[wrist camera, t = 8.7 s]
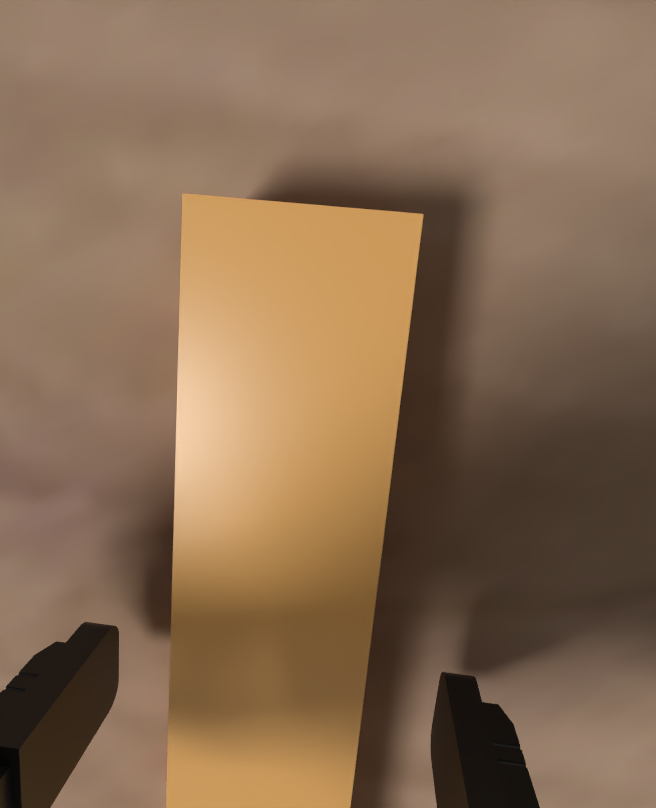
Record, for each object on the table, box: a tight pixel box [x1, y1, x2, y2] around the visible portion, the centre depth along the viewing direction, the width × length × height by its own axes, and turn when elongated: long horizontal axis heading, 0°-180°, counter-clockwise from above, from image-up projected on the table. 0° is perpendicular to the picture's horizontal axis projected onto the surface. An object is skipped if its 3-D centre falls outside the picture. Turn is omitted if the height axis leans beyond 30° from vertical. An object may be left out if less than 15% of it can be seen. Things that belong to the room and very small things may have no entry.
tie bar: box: [166, 194, 424, 808], centre depth 13 cm, size 21×4×4 cm, turn 175°
